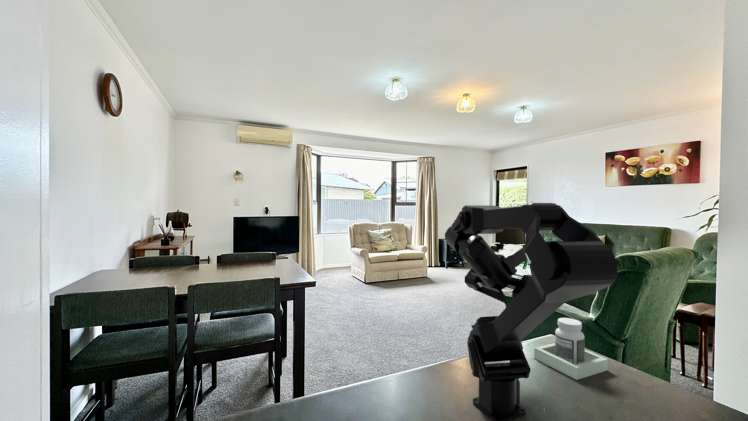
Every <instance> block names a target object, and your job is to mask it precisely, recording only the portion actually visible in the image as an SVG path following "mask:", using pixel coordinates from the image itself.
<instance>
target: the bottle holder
mask: <svg viewBox="0 0 748 421" xmlns="http://www.w3.org/2000/svg"><path fill="white" fill-rule="evenodd" d="M533 351H534V355H533V357H534V360H537V361H539V362H541V363H542V364H545V365H547V366H548V367H550V368H552V369H554V370H557V371H558V372H560V373H562V374H564V375H565V376H568V377H569V378H572V379H574V380H576V381H577V380H580V379H585V378H587V377H588V378H589V377H591V376H594V375H597V374H601V373H603V372H607V371H608V370H609V367H608V366H609V360H608V358H607V357H604V356H602V355H599V354H596V353H595V352H592V351H589V350H587V349H585V362H584V363H580V364H577V365H574V364H572V363H570V362H568V361H566V360H564V359H562V358H560V357H557V356H555V342H553V343H548V344H544V345H541V346H536V347H534V350H533Z"/></svg>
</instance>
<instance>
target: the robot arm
mask: <svg viewBox="0 0 748 421" xmlns="http://www.w3.org/2000/svg"><path fill="white" fill-rule="evenodd" d="M457 214H458V215H457V216H456V218H455V219H454V221H453V223H452V224H451V225H450V226H449V227H448V228H447V229H446V231H445V232H444V240H445V242H446V243H447V244H448V246H449V247H451V248H452V249H453V250H454V251H455V253H457V254H459V256H461V258H463V260H464V261H465V262H466V264H468V266H469V267H470V269H469V270H468V271H467V273H466V275H464V284H465V285H466V286H467V287H468V288H470V289H473V290H474V291H476V292H478V293H481V294H483V295H485V296H488V297H490V298H493V299H494V300H497V301H498V302H499V301H500V302H501V303H503V304H506V303H507V301H508V298H507V296H506V295H505V293H504V291H503V289H506V288H507V289H511V290H512V291H511V299H512V300H511V301H510V302H509V304H508V305H507V306H506V307H505V308H504V309H503V311H501V313H500V314H499V315H493V316H492V315H490V316H480V317H478V318H477V320H476V321H475V323H474V324H471V325H470V326H471V327H470V328H471V330H470V332H469V335H468V337H467V342H466V343H467V352H468V359H469V365H470V369H471V371H472V372H471V374H472V377H476V378H477V379H478V396H477V397H473V398H472V403H473V404H474V405H475V406H476V407H478V408H479V409H480V410H482V411H483V412H484V414H486V415H487V416H489V418H491V419H492V420H493V421H509V420H513V419H515V418H519V417H522V416H524V415H526V414H527V411H526V409H524V408H523V407H522V406H520V403H521V401H520V400H521V398H520V397H521V396H520V394H521V392H520V391H521V390H520V389H521V382H520V379H529V377H530V374H531V370H532V369H531V367H530V365H529V362H528V360H527V359H528V358H527V357H526V355H525V352H524V350H523V349H524V346H523V343H522V340H523V339H524V338H526V337H527V336H528V335H529V334H531V332H532V331H534V330H535V329H536V328H537V327H538V326H540V325H541V324H542V323H543V322H544V321H545V320H546V319H548V318H549V317H550V316H551V315H553V314H554V313H555V312H556V311H557V310H558V309H560V308H561V307H562V306H563V305H564V304H565V303H566V302H567V303H568V301H569V302H570V301H572V300H576V299H579V298H582V297H586V296H590V295H593V294H595V293H597V292H600V291H601V290H604V289H606V288H608V287H610V286H612V285H613V284H614V283H615V282H616V281H617V279H618V277H619V272H618V260H617V258H616V256H615V254H614V253H613V251H612V249H611V248H610V247H609V246H608V245H607V244H605V243H604V241H602V239H600V237H599V236H598V235H597V234H596V233H595V231H593V229H590V228H589V227H587V226H585V224H582V223H581V222H579V221H578V220H576V219H574V218H573V217H572V216H570V215H569V214H568V213H567V212H566V210H565V209H564V208H563V207H562V206H561V205H558V204H557V203H554V202H528V203H525V204H522V205H513V206H512V205H511V206H504V207H501V206H497V205H484V204H483V205H480V204H479V205H473V204H472V205H470V204H469V205H467V204H466V205H463V207H462V208H461V210H460V211H459V212H458V213H457ZM504 230H523V233H524V235H525V237H524V245H520V244H512V243H509V244H507V243H506V244H505V243H504V244H502V243H500V242H494V243H492V244H491V245H489V244H488V242H487V241H486V240H485V238H483V236H482V235H490V234H492V235H493V234H494V235H495V234H499V233H502V232H503V231H504ZM547 231H548V232H551V233H552V234H553V235H554V236H555V237H557V238H558V239H560V240H555V241H554V240H551V241H550V240H549V241H548V240H547V241H545V239H544V237H543V235H542V234H541V233H540V232H547ZM528 259H529V262H530V264H529V269H530V270H529V272H530V274H523V275H522V277H521V278H517V277H513V276H515V275H516V274H517V272H518V269H516V268H517V267H519V266H520V265H522V264H523V263H526V262H527V261H528ZM508 361H509V362H508ZM495 362H496V363H495Z"/></svg>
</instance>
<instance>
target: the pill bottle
mask: <svg viewBox="0 0 748 421" xmlns="http://www.w3.org/2000/svg"><path fill="white" fill-rule="evenodd" d="M556 323H557V326H558V327H557V328H556V329H555V331H554V333H555V334H554V338H555V339H554V343H555V356H557V357H560V358H562V359H564V360H566V361H568V362H570V363H572V364H574V365H577V364H580V363H584V362H585V350H586V349H585V344H586V343H585V342H586V340H585V338H586V337H585V334H584V333H583V331H582V329H583V323H582V322H581V321H580V320H578V319H575V318H571V317H559V318H558V319H557V322H556Z"/></svg>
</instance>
